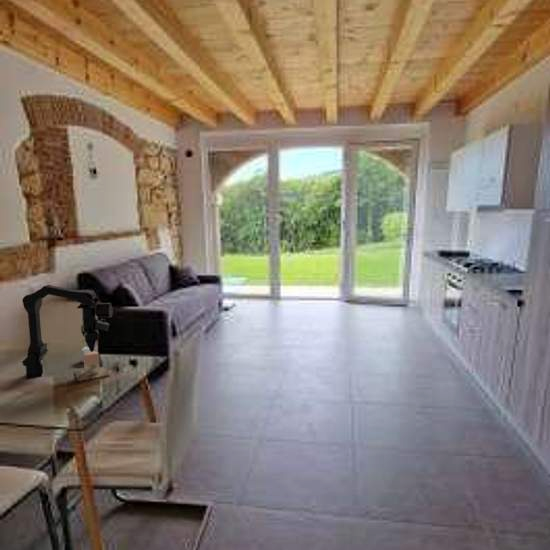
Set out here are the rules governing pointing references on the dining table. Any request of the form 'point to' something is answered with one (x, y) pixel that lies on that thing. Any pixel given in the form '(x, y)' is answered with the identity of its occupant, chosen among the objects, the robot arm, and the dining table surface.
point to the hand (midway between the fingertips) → (90, 348)
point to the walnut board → (102, 373)
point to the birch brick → (91, 369)
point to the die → (81, 353)
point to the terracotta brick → (91, 358)
